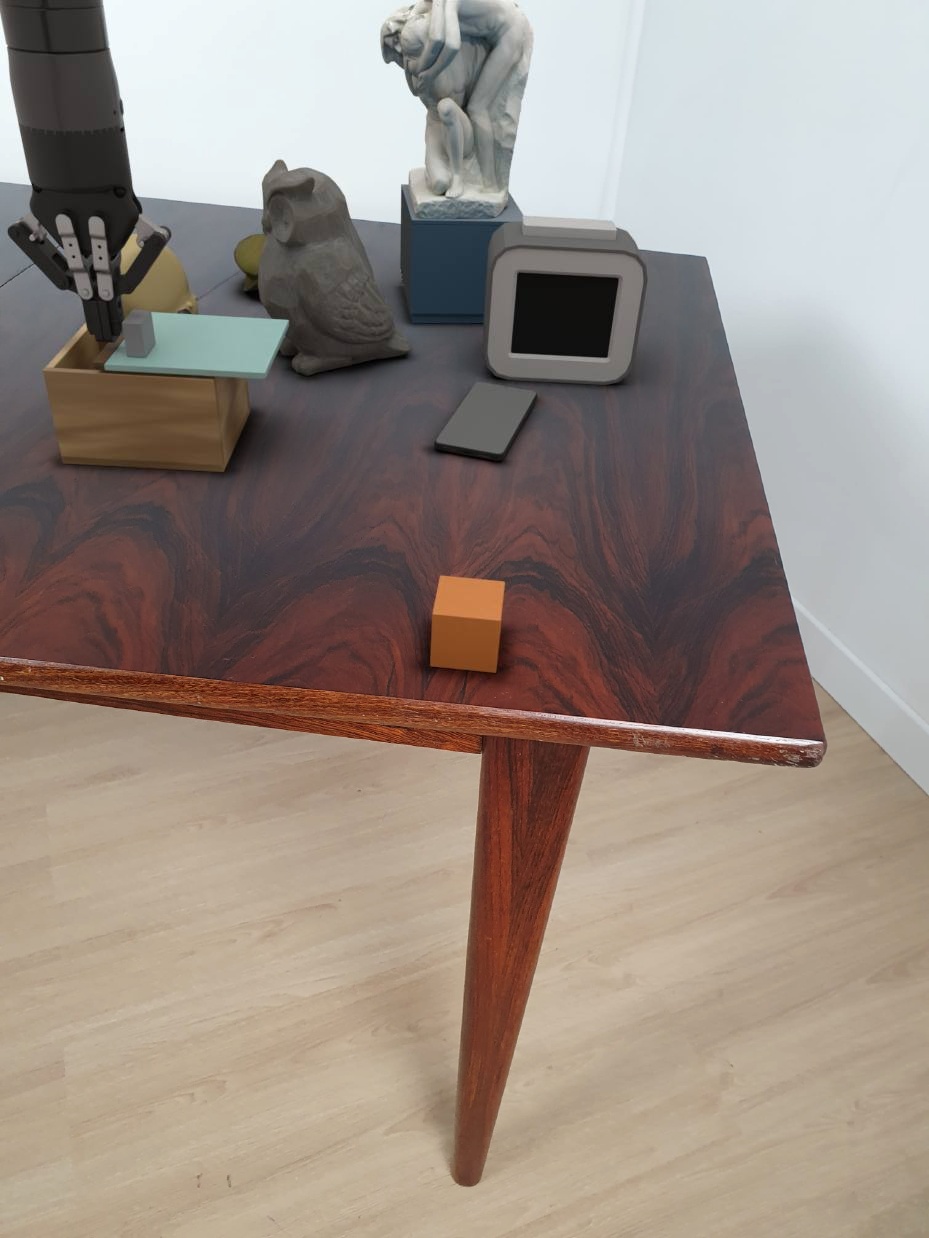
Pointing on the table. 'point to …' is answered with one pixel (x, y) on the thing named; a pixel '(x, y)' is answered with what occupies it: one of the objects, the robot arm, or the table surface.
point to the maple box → (141, 413)
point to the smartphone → (486, 421)
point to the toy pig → (158, 284)
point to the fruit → (250, 259)
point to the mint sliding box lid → (194, 345)
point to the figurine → (320, 275)
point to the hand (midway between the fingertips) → (108, 339)
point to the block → (467, 624)
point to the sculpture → (458, 145)
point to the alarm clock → (563, 301)
